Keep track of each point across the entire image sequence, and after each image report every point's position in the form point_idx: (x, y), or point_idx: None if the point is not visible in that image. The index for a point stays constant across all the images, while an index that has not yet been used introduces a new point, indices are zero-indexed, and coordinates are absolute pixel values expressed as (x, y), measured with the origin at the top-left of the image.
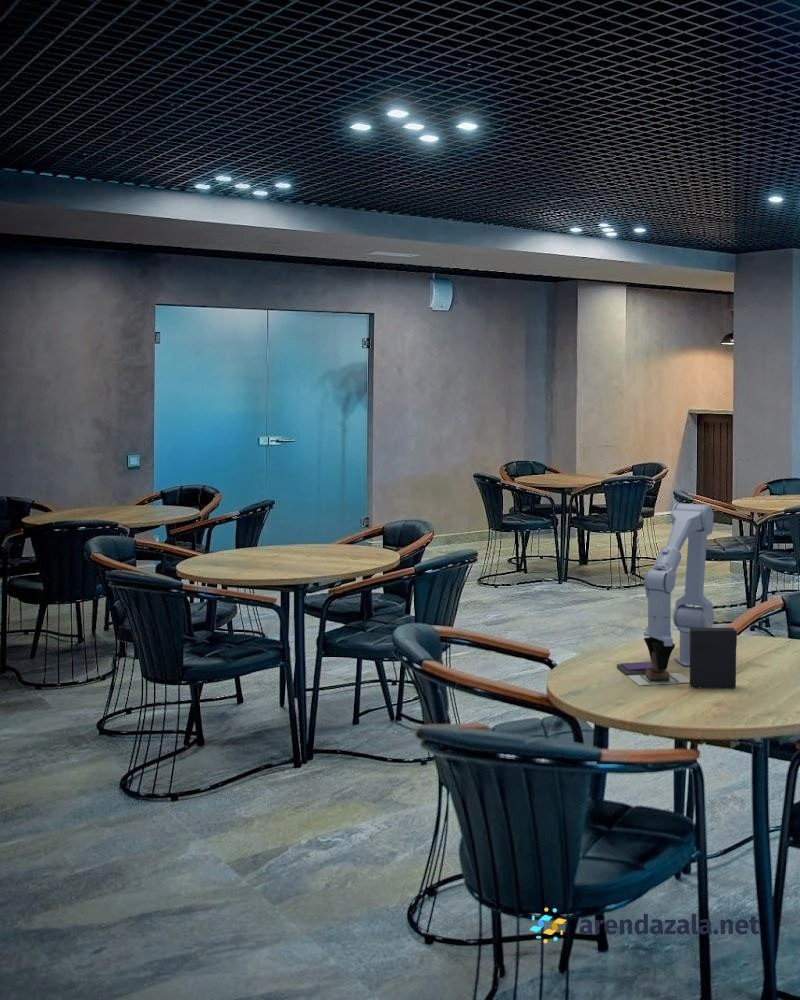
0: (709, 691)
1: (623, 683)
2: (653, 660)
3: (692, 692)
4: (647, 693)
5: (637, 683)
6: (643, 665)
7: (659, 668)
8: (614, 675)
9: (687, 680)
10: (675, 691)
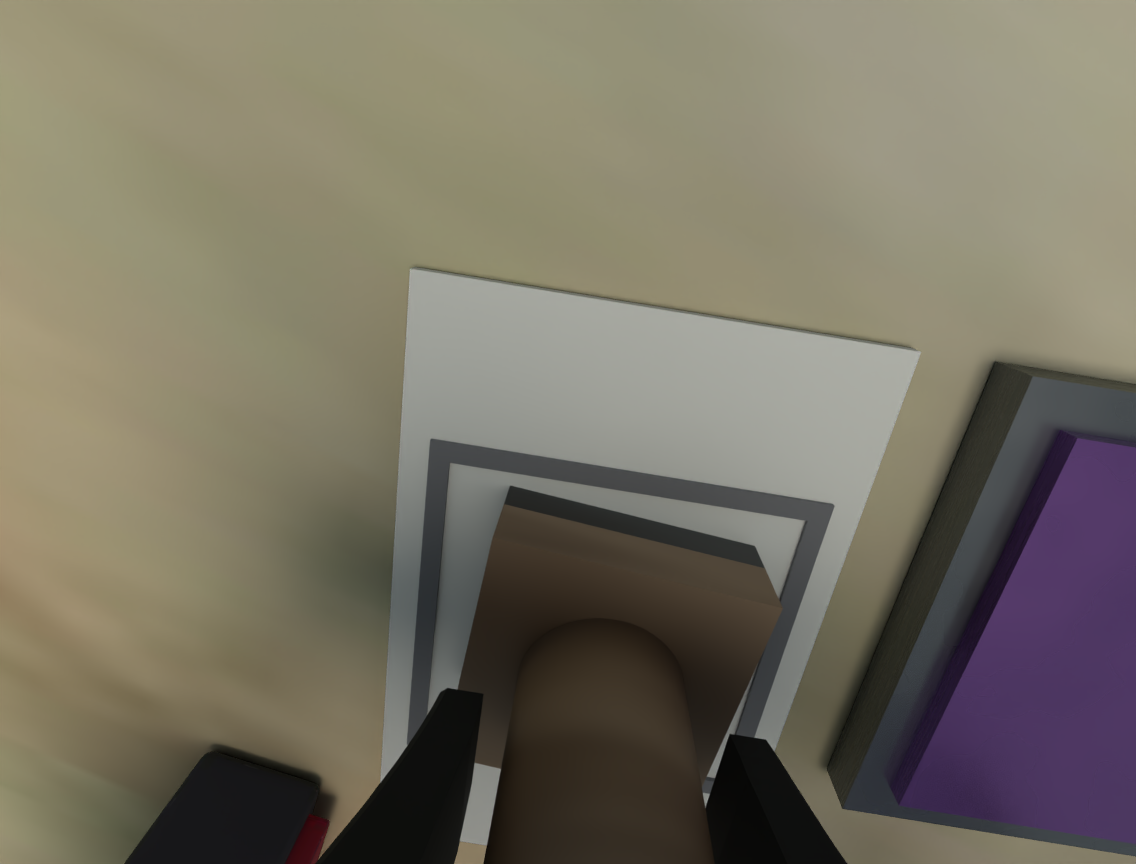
0: (89, 810)
1: (622, 112)
2: (557, 784)
3: (63, 683)
4: (42, 210)
5: (482, 288)
6: (1110, 715)
7: (435, 712)
8: (1106, 195)
9: None
10: (112, 562)
